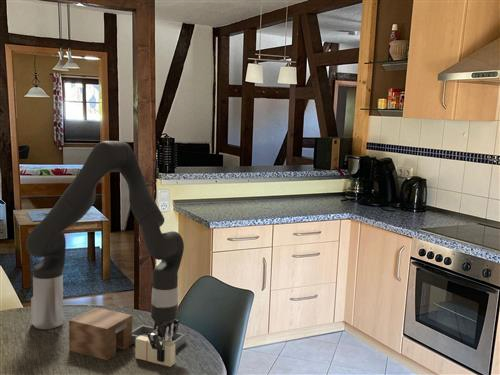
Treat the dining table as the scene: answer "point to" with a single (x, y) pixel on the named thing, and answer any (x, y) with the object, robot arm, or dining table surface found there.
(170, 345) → the cream rectangular block
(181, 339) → the tray
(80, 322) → the wooden block
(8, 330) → the dining table surface
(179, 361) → the dining table surface
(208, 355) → the dining table surface
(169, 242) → the robot arm
